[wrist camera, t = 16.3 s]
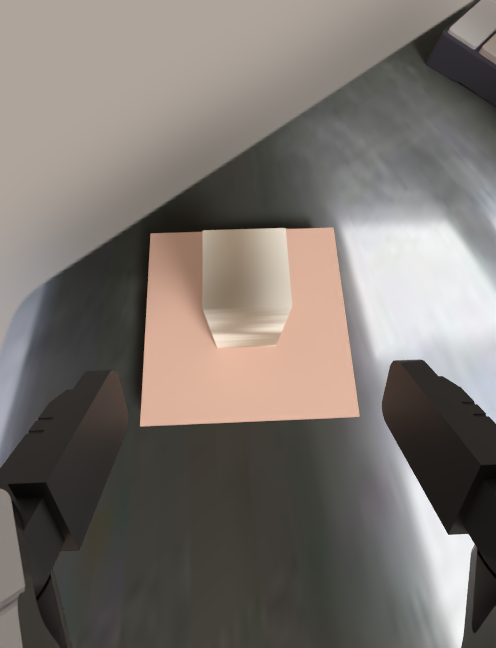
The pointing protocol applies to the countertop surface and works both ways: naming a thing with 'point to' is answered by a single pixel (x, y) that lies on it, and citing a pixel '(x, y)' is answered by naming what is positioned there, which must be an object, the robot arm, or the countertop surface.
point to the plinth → (245, 362)
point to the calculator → (469, 50)
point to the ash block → (246, 286)
